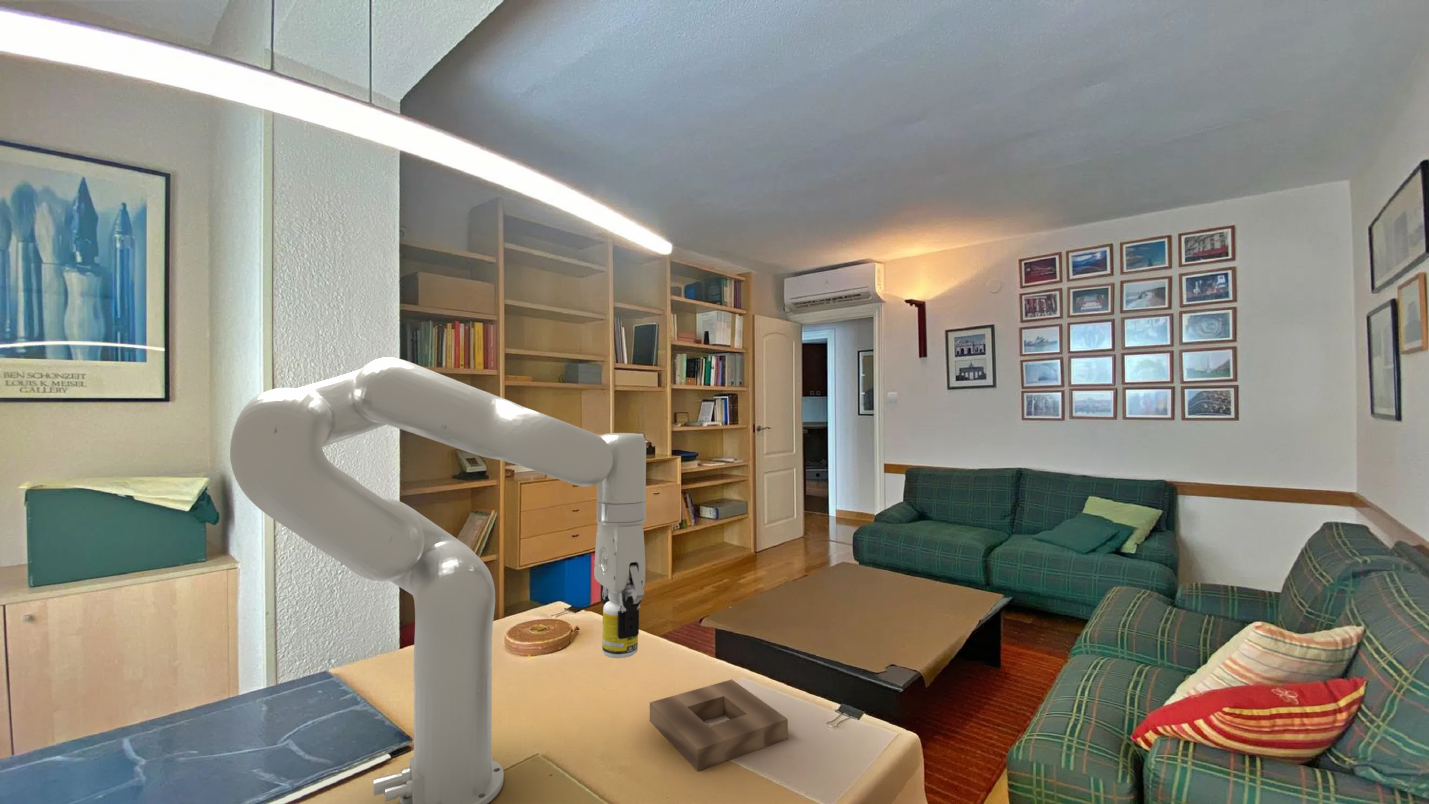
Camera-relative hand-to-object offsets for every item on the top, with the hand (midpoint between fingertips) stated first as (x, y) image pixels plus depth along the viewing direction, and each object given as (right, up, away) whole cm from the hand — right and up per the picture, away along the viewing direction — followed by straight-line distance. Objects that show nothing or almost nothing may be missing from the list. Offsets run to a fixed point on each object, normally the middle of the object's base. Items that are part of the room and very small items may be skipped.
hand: (620, 629), depth 92 cm
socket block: (+15, -17, +3) cm, 23 cm away
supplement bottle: (0, -4, 0) cm, 4 cm away
